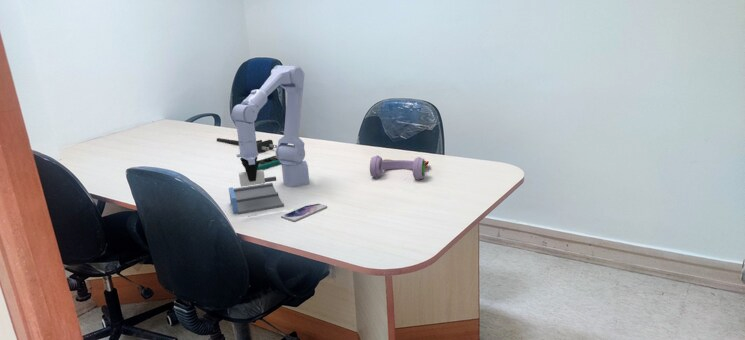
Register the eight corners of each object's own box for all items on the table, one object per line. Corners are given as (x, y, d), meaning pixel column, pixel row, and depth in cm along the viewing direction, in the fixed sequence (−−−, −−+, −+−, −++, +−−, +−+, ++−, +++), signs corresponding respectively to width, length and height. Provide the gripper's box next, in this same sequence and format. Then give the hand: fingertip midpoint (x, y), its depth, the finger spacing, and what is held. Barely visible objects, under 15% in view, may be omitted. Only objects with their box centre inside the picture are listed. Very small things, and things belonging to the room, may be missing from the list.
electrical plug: (266, 155, 245) (264, 144, 244) (211, 146, 271) (209, 136, 269) (280, 150, 251) (279, 140, 250) (225, 142, 277) (224, 133, 276)
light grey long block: (275, 178, 189) (274, 167, 188) (276, 181, 186) (275, 170, 185) (240, 183, 186) (238, 172, 184) (241, 186, 183) (239, 175, 182)
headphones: (368, 161, 203) (381, 140, 221) (370, 184, 208) (383, 162, 225) (420, 163, 198) (430, 141, 215) (421, 187, 202) (430, 164, 220)
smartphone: (279, 216, 175) (313, 202, 186) (280, 218, 176) (314, 204, 186) (294, 221, 171) (328, 206, 182) (294, 223, 171) (328, 208, 182)
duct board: (272, 186, 204) (270, 170, 202) (284, 208, 182) (282, 191, 180) (227, 193, 199) (225, 177, 197) (234, 217, 177) (232, 199, 176)
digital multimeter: (287, 163, 233) (286, 157, 232) (258, 172, 222) (257, 165, 222) (276, 160, 238) (276, 154, 237) (248, 169, 227) (247, 162, 226)
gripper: (232, 137, 186) (237, 174, 190) (237, 147, 173) (242, 187, 177) (253, 134, 188) (258, 172, 192) (259, 144, 175) (264, 184, 179)
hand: (251, 179), depth 185 cm, fingers closed on light grey long block, 3 cm apart
